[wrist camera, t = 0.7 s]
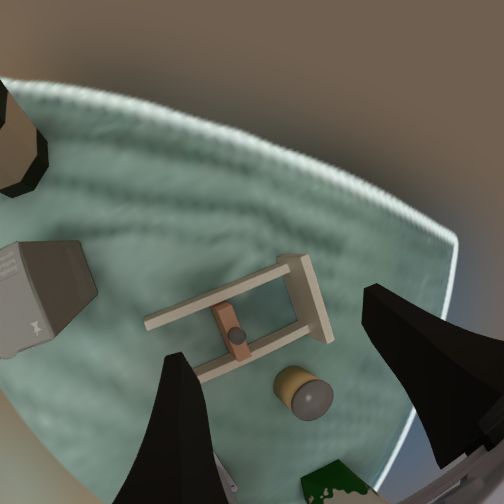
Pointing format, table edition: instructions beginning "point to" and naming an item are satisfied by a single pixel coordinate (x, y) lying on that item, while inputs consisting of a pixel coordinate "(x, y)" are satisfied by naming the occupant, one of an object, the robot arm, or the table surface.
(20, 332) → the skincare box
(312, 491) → the milk carton
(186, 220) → the table surface
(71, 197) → the table surface
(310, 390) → the jar
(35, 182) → the wine bottle
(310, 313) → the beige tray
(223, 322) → the pusher
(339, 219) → the table surface
